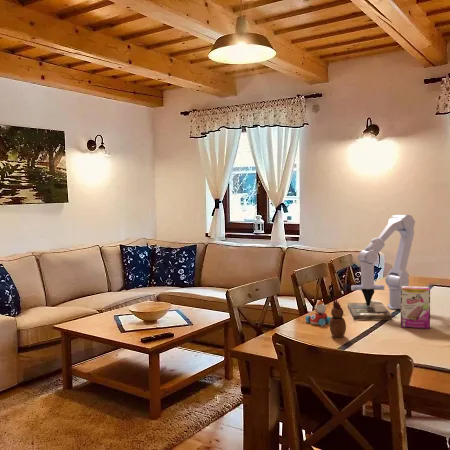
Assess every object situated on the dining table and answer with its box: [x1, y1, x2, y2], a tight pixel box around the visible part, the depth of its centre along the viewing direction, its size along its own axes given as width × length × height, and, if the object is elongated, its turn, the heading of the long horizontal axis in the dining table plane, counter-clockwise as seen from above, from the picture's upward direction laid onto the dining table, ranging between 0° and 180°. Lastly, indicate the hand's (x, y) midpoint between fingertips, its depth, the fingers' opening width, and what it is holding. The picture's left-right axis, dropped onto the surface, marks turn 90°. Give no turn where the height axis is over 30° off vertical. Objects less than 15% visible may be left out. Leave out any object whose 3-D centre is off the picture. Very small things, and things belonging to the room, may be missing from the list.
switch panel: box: [347, 302, 393, 321], centre depth 222 cm, size 16×24×2 cm, turn 172°
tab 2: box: [374, 303, 386, 312], centre depth 217 cm, size 4×4×2 cm
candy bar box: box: [400, 285, 431, 330], centre depth 197 cm, size 11×5×16 cm, turn 71°
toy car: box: [305, 299, 332, 327], centre depth 209 cm, size 9×9×10 cm
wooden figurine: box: [329, 296, 347, 338], centre depth 189 cm, size 7×6×15 cm
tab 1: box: [370, 299, 382, 308], centre depth 225 cm, size 4×4×2 cm
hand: (368, 305), depth 225 cm, fingers closed
